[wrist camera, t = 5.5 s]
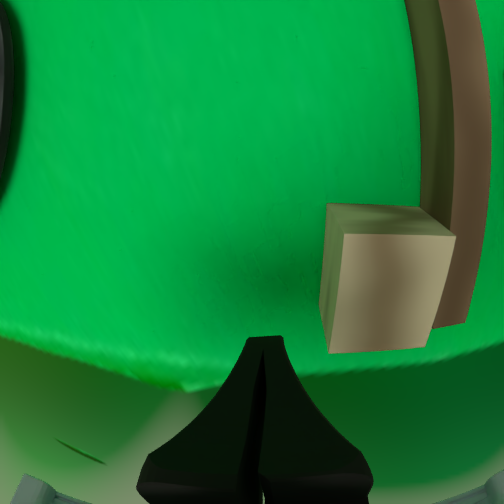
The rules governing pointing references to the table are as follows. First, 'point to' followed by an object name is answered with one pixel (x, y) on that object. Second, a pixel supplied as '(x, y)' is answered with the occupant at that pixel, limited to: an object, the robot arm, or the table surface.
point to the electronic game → (5, 84)
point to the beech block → (381, 276)
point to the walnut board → (453, 137)
